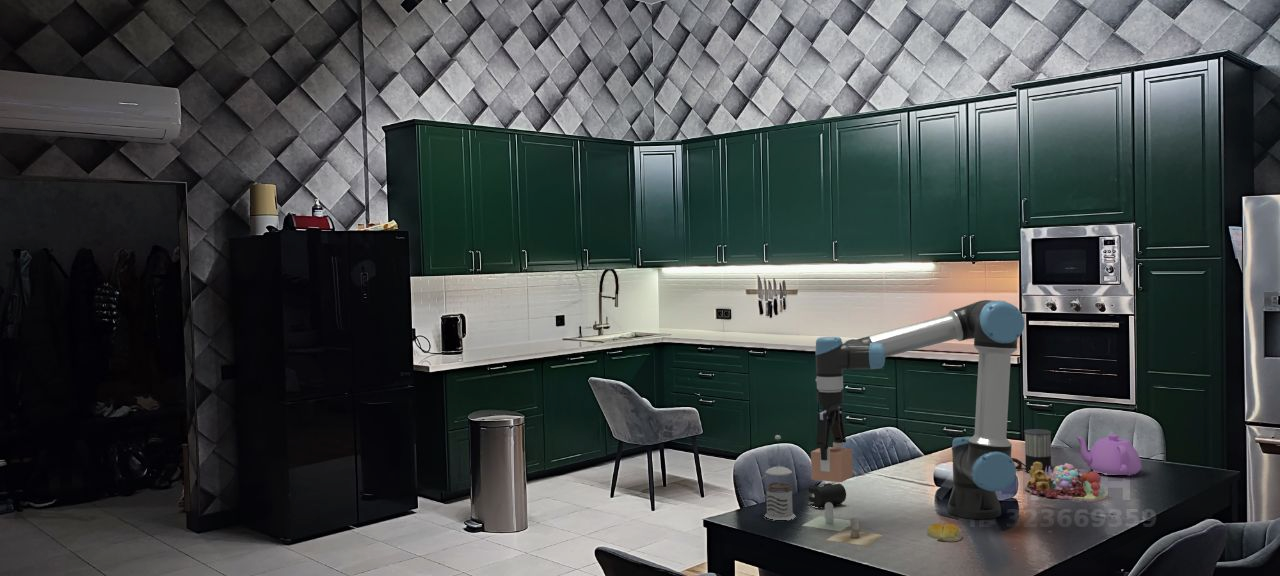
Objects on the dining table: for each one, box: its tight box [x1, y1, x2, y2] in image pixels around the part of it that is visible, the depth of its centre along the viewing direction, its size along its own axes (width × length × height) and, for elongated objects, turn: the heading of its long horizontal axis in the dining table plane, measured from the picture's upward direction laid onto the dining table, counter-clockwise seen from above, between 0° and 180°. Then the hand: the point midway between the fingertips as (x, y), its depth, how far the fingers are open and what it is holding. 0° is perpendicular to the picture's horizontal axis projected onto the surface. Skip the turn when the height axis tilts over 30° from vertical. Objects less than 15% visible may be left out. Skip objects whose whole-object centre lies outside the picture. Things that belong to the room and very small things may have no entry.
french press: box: [757, 434, 797, 521], centre depth 280 cm, size 10×12×25 cm
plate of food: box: [1024, 462, 1109, 502], centre depth 300 cm, size 25×24×9 cm
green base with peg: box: [801, 502, 850, 532], centre depth 268 cm, size 12×12×7 cm
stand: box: [825, 517, 885, 547], centre depth 253 cm, size 12×12×6 cm
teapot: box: [1073, 433, 1142, 475], centre depth 325 cm, size 22×22×14 cm
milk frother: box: [1011, 428, 1053, 472], centre depth 333 cm, size 14×16×15 cm
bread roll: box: [926, 522, 963, 543], centre depth 252 cm, size 8×9×4 cm
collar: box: [810, 446, 854, 483], centre depth 265 cm, size 9×9×8 cm
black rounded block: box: [808, 482, 847, 509], centre depth 291 cm, size 10×7×7 cm
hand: (832, 467), depth 265 cm, fingers closed on collar, 9 cm apart
